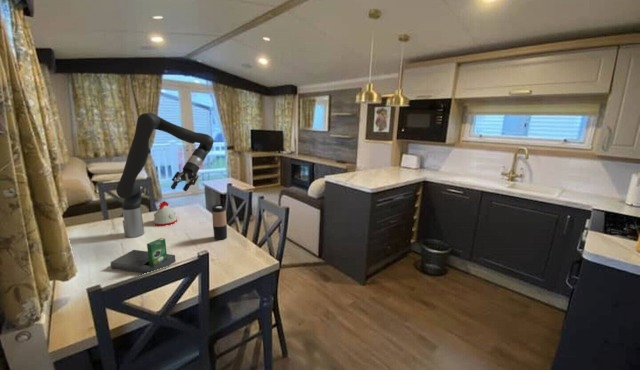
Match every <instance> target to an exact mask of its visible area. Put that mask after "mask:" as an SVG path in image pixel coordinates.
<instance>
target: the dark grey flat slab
mask: <svg viewBox="0 0 640 370" xmlns="http://www.w3.org/2000/svg"><path fill="white" fill-rule="evenodd" d="M175 262H176V254H172V253H171V254H170V253H167V257H166V258H165V259H163V260H162V261H160V262H159V263H157V264H156V265H154V266H149V259H148V250H147V251H146V250H139V249H132V250H130V251H128V252H127V253H125V254H123V255H121V256H120V257H118V258H116V259H114V260H112V261H110V267H111V269H112V270H116V271H117V270H118V271H122V272H123V271H126V272H131V273H139V274H144V273H147V272H151V271H154V270H157V269H160V268H163V267H166V266H168V267H169V265H170V266H171V265H173V264H174V263H175Z"/></svg>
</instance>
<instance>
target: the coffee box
mask: <svg viewBox="0 0 640 370" xmlns="http://www.w3.org/2000/svg"><path fill="white" fill-rule="evenodd" d="M146 247H147V249H146V250H147V251H148V259H149V266H154V265H156V264H157V263H159V262H160V261H162V260H163V259H165V258H166V257H167V254H168V253H167V244H166V239H165V238H162V237H160V238H158V239H156V240H153V241H150V242H148V243H146Z"/></svg>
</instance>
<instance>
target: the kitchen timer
mask: <svg viewBox="0 0 640 370" xmlns="http://www.w3.org/2000/svg"><path fill="white" fill-rule="evenodd" d="M158 207H159V208H158V209H157V210H156V211H155V212H154V214H153V224H155V225H154V226H156V225H157V226H156V227H167V226H166V225H168V226H171V224H172V225H174V224H176V223H177V222H178V216H177V215H176V211H174V209H172V208H171V207H170V206H169V203H168V202H167V201H165V200H163V201H161V202H160V204H159V205H158ZM175 222H176V223H175Z"/></svg>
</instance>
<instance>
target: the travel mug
mask: <svg viewBox="0 0 640 370" xmlns="http://www.w3.org/2000/svg"><path fill="white" fill-rule="evenodd" d="M211 213H212V216H211V217H212V229H213V237H214V240H215V241H224V240H226V239H227V238H228V228H227V227H228V226H227V225H228V224H227V210H226V205H225V204H214V205H212V206H211Z"/></svg>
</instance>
